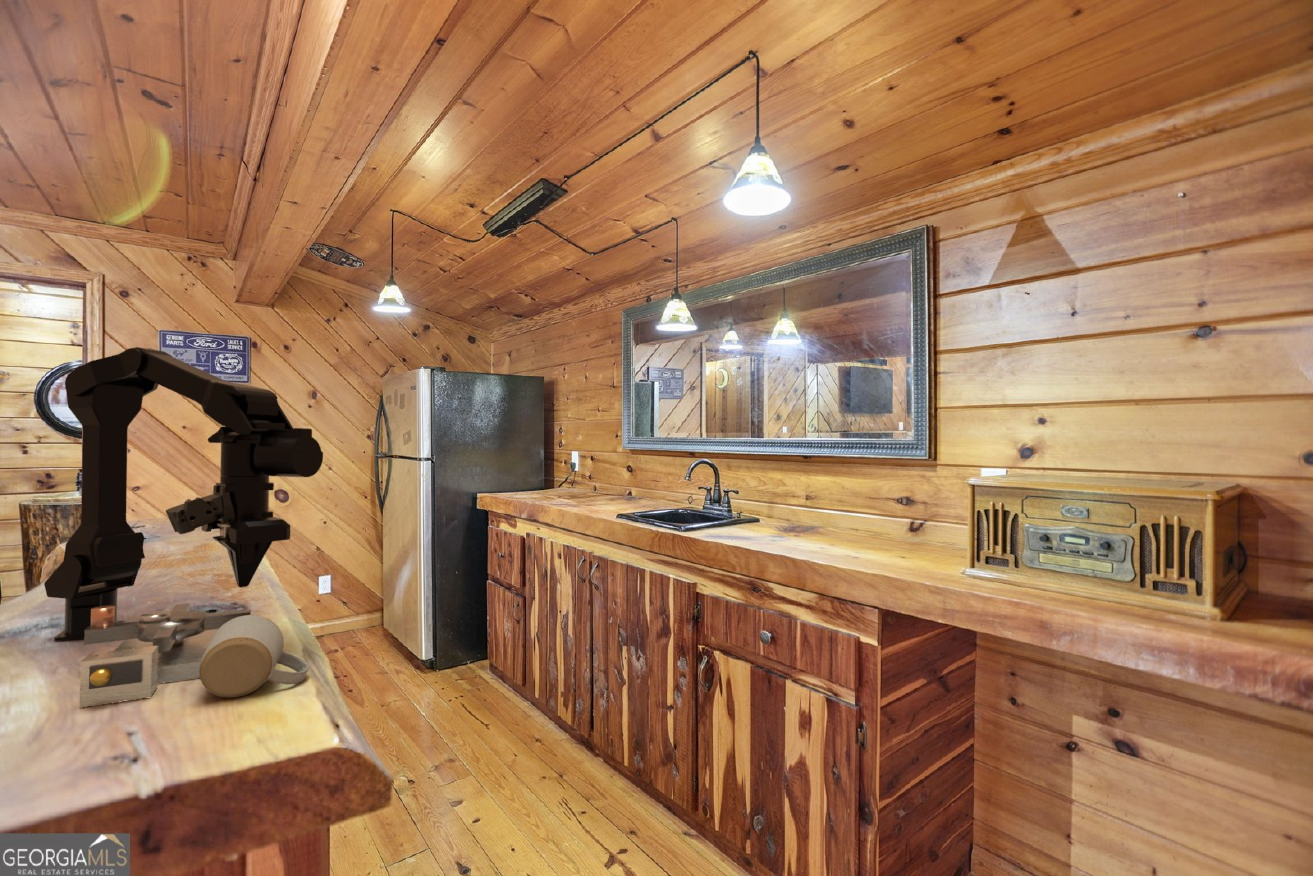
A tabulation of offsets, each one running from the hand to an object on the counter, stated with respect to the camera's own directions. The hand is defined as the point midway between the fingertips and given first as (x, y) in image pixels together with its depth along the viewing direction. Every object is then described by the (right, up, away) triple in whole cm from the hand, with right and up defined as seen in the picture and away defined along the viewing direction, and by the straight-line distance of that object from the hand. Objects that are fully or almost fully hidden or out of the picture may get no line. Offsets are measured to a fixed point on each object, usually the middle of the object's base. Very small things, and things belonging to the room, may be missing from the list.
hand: (242, 586), depth 85 cm
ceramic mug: (+10, -9, -13) cm, 18 cm away
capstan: (-6, -5, -5) cm, 9 cm away
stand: (-4, -8, -8) cm, 12 cm away
